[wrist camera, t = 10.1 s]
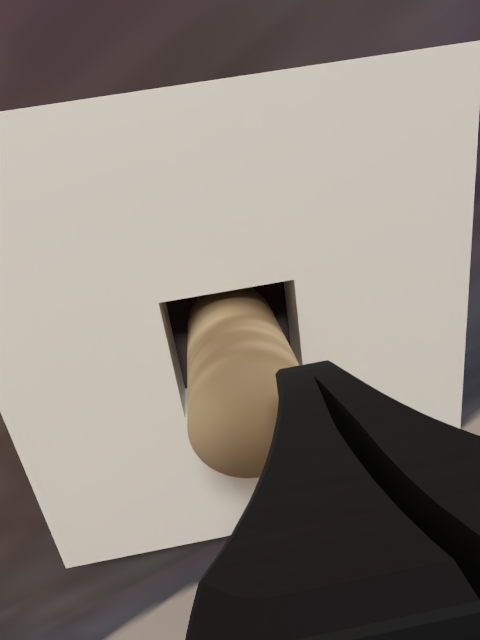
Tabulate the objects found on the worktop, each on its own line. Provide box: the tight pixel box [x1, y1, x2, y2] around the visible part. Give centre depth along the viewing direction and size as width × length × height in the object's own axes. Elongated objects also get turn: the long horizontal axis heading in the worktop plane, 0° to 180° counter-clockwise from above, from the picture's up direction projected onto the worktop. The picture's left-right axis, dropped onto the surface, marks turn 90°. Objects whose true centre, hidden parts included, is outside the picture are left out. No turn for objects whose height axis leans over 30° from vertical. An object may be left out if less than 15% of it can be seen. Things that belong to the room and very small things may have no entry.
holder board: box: [0, 41, 480, 568], centre depth 19 cm, size 20×20×2 cm
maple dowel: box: [187, 287, 299, 478], centre depth 17 cm, size 4×4×8 cm
